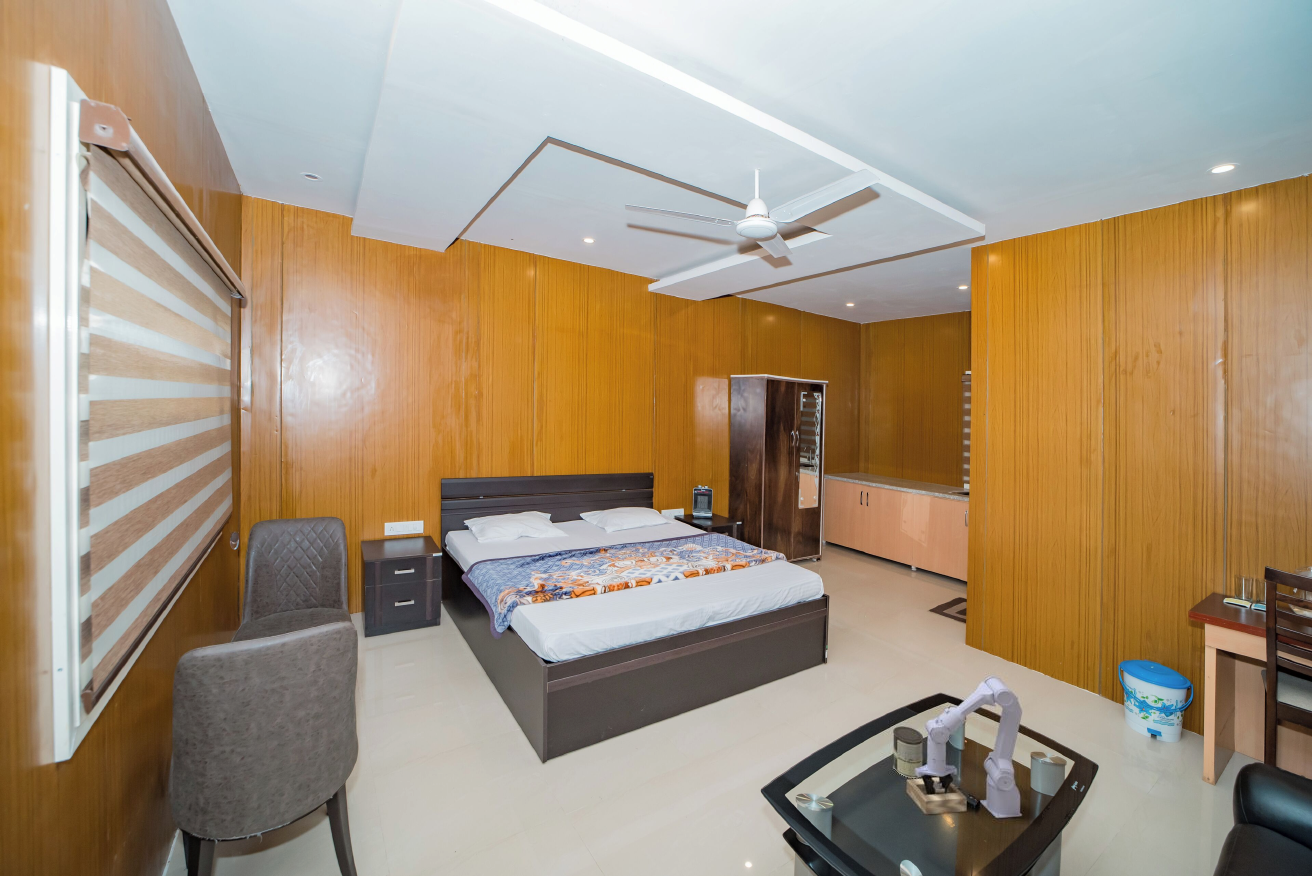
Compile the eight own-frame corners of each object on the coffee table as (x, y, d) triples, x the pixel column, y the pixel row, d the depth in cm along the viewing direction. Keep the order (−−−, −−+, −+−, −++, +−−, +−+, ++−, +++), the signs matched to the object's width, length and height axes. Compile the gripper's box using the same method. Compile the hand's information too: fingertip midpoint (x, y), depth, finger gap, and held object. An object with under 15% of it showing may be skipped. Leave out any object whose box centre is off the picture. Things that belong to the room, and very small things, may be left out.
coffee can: (886, 764, 205) (887, 728, 205) (908, 759, 209) (908, 724, 208) (907, 781, 196) (907, 744, 195) (929, 775, 199) (929, 738, 199)
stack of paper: (937, 797, 187) (937, 778, 187) (944, 805, 183) (944, 786, 183) (928, 798, 187) (928, 779, 187) (935, 806, 183) (935, 787, 183)
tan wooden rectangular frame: (945, 789, 192) (945, 776, 191) (966, 810, 181) (966, 798, 180) (906, 792, 190) (906, 779, 190) (925, 814, 179) (925, 801, 179)
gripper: (948, 748, 190) (947, 785, 190) (910, 750, 188) (909, 788, 188) (961, 760, 183) (961, 799, 183) (922, 763, 181) (921, 802, 181)
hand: (935, 794), depth 185 cm, fingers open, 4 cm apart
